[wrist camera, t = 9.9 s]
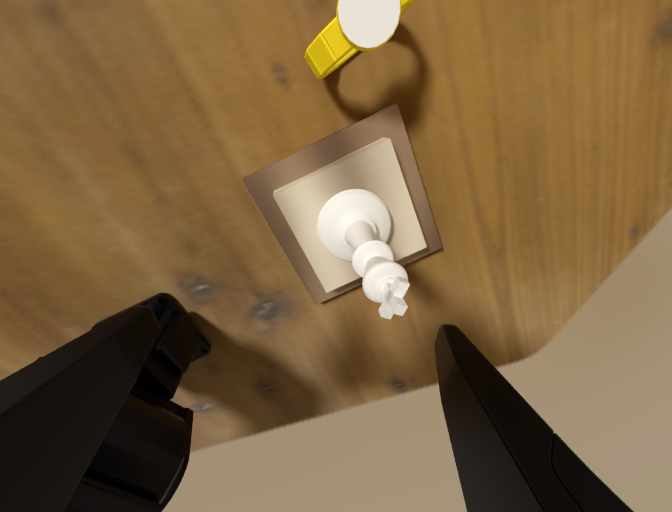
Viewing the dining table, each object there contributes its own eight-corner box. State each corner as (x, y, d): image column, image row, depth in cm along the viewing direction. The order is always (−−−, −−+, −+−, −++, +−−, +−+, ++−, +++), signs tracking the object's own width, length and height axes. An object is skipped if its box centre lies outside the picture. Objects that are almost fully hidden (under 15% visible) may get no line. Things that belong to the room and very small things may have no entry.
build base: (314, 298, 25) (316, 316, 23) (244, 177, 20) (238, 184, 18) (436, 242, 24) (451, 255, 22) (392, 104, 20) (405, 101, 17)
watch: (324, 93, 19) (328, 89, 14) (297, 51, 18) (290, 28, 13) (405, 29, 18) (442, -4, 13) (381, -21, 17) (412, -80, 12)
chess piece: (401, 204, 20) (489, 273, 11) (370, 267, 22) (424, 372, 13) (333, 177, 19) (368, 228, 10) (306, 245, 20) (314, 345, 11)
